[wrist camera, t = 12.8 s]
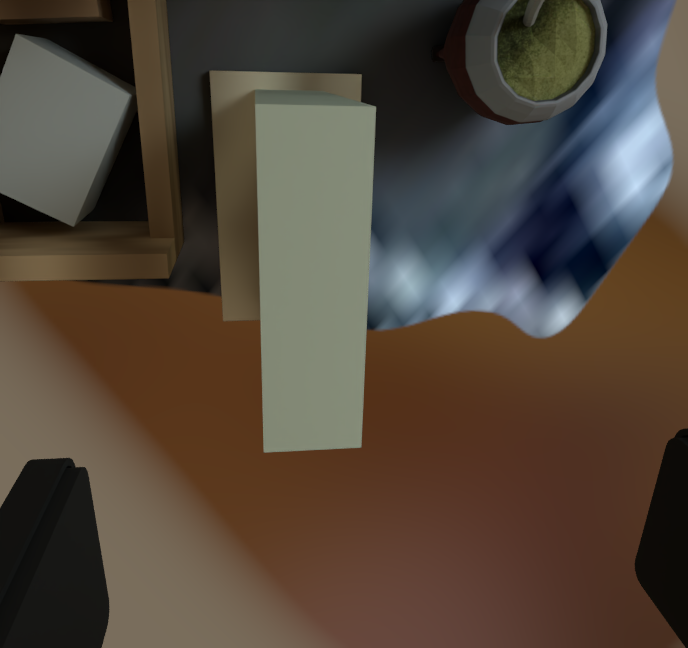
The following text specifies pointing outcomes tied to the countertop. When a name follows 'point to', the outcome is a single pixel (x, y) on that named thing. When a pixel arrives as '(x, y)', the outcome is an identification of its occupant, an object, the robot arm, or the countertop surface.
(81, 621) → the robot arm
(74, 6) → the offcut walnut
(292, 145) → the sage panel
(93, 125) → the offcut grey
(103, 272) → the oak rack
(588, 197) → the countertop surface
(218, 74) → the cork board
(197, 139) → the countertop surface
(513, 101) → the mate gourd
